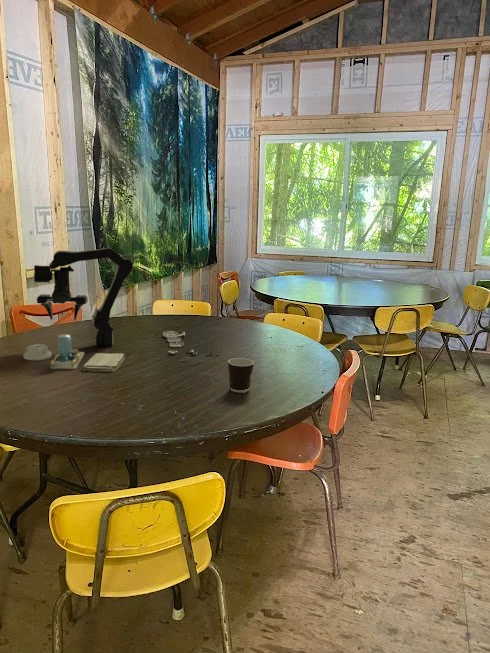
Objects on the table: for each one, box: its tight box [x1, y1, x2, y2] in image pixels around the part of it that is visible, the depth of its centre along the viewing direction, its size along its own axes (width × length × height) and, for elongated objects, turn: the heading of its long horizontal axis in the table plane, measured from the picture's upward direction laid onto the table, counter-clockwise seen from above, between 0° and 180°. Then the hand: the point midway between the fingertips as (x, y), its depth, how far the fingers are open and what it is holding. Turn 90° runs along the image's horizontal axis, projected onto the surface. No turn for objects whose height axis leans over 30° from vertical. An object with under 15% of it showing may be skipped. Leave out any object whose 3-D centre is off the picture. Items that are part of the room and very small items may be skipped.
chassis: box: [50, 348, 85, 370], centre depth 175 cm, size 8×18×3 cm, turn 9°
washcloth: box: [82, 352, 126, 373], centre depth 174 cm, size 12×18×3 cm, turn 3°
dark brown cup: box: [227, 357, 255, 390], centre depth 156 cm, size 12×9×10 cm
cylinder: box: [57, 333, 73, 361], centre depth 170 cm, size 5×5×10 cm
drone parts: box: [162, 330, 198, 355], centre depth 207 cm, size 23×35×3 cm, turn 12°
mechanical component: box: [22, 343, 52, 361], centre depth 179 cm, size 10×4×10 cm
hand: (63, 319), depth 190 cm, fingers open, 9 cm apart
